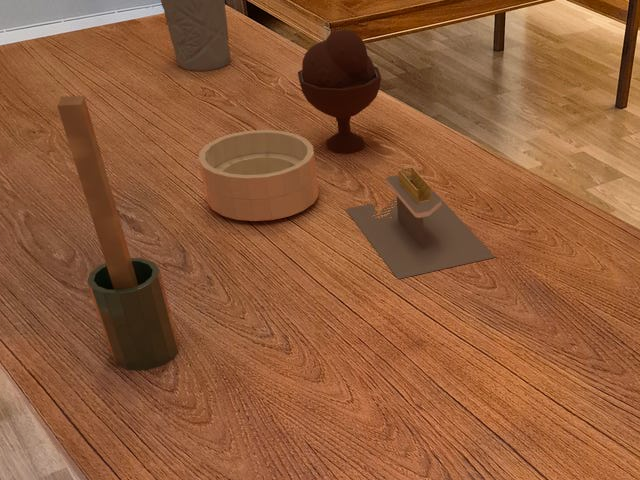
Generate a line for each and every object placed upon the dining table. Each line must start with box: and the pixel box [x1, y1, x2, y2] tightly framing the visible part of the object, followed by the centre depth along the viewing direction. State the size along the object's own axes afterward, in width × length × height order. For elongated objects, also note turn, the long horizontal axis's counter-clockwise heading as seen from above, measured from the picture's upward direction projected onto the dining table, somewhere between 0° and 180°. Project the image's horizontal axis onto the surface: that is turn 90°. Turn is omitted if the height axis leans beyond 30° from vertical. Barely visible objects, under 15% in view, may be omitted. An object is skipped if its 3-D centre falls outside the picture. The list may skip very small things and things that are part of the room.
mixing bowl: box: [198, 129, 320, 222], centre depth 109 cm, size 14×14×6 cm
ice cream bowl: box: [297, 29, 382, 154], centre depth 118 cm, size 11×11×15 cm
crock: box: [86, 257, 180, 371], centre depth 84 cm, size 6×6×9 cm
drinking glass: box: [160, 0, 232, 72], centre depth 142 cm, size 10×10×12 cm
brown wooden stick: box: [56, 95, 138, 290], centre depth 78 cm, size 2×3×24 cm, turn 10°
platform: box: [345, 166, 496, 280], centre depth 103 cm, size 12×18×7 cm, turn 25°
